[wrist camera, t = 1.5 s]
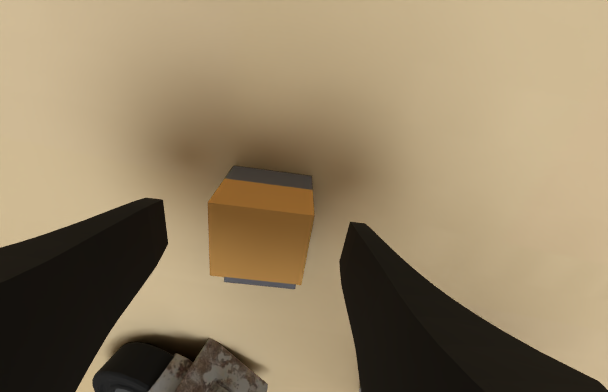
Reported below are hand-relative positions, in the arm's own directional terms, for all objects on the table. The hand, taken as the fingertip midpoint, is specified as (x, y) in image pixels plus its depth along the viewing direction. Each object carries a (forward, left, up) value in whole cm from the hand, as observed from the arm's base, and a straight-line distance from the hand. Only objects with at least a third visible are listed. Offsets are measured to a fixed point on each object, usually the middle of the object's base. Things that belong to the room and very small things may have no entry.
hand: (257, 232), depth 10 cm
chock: (0, +3, -5) cm, 6 cm away
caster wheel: (+6, +19, -6) cm, 21 cm away
